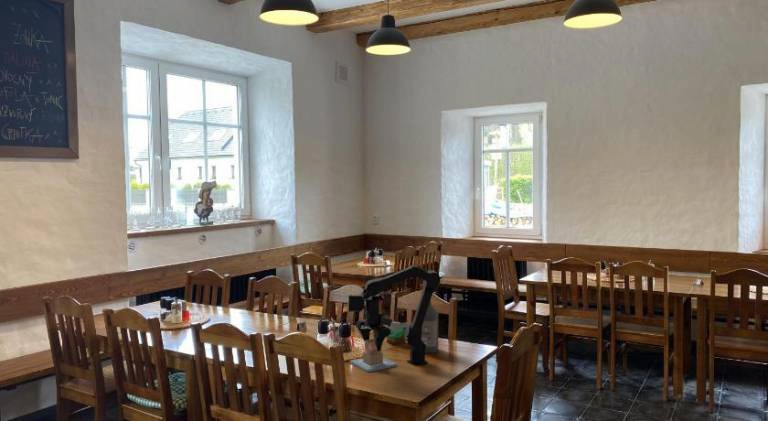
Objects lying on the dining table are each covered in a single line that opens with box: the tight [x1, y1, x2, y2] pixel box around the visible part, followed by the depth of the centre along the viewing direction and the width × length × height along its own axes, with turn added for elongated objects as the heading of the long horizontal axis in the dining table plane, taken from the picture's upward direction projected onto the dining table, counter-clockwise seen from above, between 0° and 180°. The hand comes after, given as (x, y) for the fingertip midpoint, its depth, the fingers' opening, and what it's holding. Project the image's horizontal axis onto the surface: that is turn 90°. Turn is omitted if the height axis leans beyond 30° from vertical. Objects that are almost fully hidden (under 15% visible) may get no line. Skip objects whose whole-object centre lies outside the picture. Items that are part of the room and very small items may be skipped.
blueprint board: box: [349, 351, 397, 373], centre depth 251 cm, size 14×14×5 cm
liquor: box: [421, 299, 439, 354], centre depth 270 cm, size 9×9×30 cm
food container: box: [383, 321, 409, 345], centre depth 283 cm, size 12×6×10 cm, turn 62°
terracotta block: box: [364, 338, 382, 355], centre depth 251 cm, size 5×5×5 cm
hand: (373, 348), depth 251 cm, fingers open, 9 cm apart
